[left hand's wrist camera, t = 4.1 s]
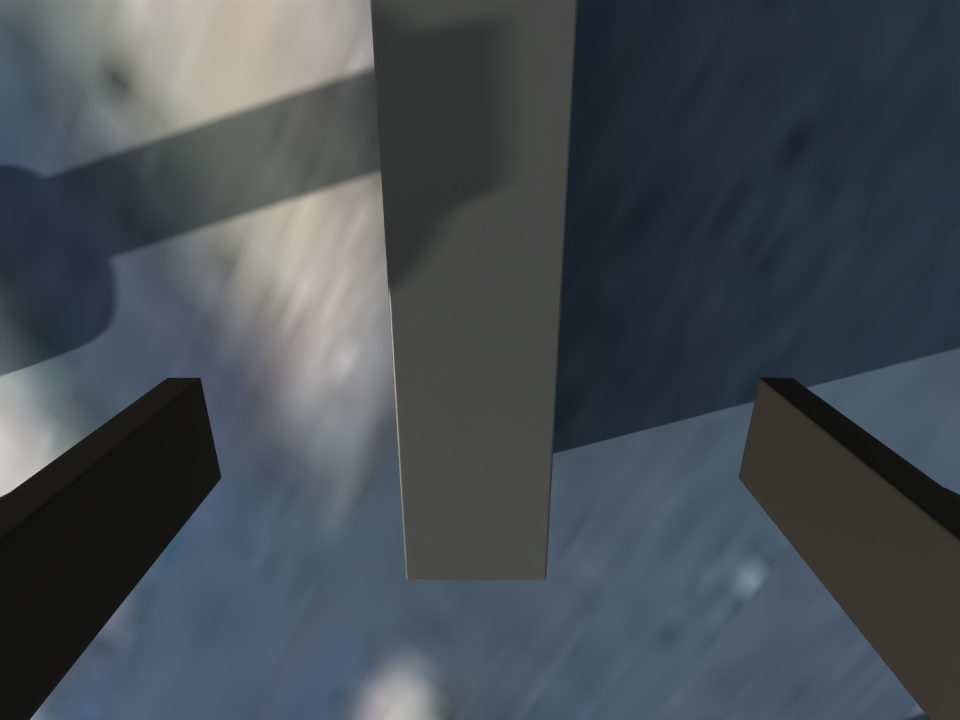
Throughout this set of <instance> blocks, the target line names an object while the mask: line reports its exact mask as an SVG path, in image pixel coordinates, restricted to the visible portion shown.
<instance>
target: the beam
mask: <svg viewBox="0 0 960 720" xmlns="http://www.w3.org/2000/svg"><path fill="white" fill-rule="evenodd" d="M577 10H578V0H371V16H372V32H373V49H374V65H375V81H376V97H377V113H378V129H379V146H380V162H381V178H382V194H383V210H384V226H385V243H386V259H387V275H388V291H389V307H390V324H391V340H392V356H393V372H394V388H395V404H396V421H397V437H398V453H399V469H400V485H401V501H402V518H403V534H404V550H405V566H406V579H407V580H408V581H417V580H545V579H546V570H547V552H548V534H549V516H550V498H551V480H552V462H553V444H554V426H555V408H556V390H557V372H558V353H559V335H560V317H561V299H562V281H563V263H564V245H565V227H566V209H567V191H568V173H569V155H570V137H571V119H572V101H573V83H574V65H575V47H576V28H577Z"/></svg>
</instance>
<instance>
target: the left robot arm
mask: <svg viewBox="0 0 960 720" xmlns="http://www.w3.org/2000/svg"><path fill="white" fill-rule="evenodd" d="M220 479H221V474H220V469H219V464H218V460H217V455H216V450H215V445H214V441H213V436H212V431H211V426H210V422H209V417H208V412H207V407H206V402H205V398H204V393H203V388H202V383H201V379H200V378H167V379H166V380H164V381H163V382H161V383H160V384H159V385H157V386H156V387H155V388H153V389H152V390H150V391H149V392H148V393H146V394H145V395H143V396H142V397H141V398H139V399H138V400H137V401H135V402H134V403H132V404H131V405H130V406H128V407H127V408H126V409H124V410H123V411H121V412H120V413H119V414H117V415H116V416H115V417H113V418H112V419H110V420H109V421H108V422H106V423H105V424H104V425H102V426H101V427H99V428H98V429H97V430H95V431H94V432H93V433H91V434H90V435H88V436H87V437H86V438H84V439H83V440H82V441H80V442H79V443H77V444H76V445H75V446H73V447H72V448H71V449H69V450H68V451H66V452H65V453H64V454H62V455H61V456H59V457H58V458H57V459H55V460H54V461H53V462H51V463H50V464H48V465H47V466H46V467H44V468H43V469H42V470H40V471H39V472H37V473H36V474H35V475H33V476H32V477H31V478H29V479H28V480H26V481H25V482H24V483H22V484H21V485H20V486H18V487H17V488H15V489H14V490H13V491H11V492H10V493H8V494H6V495H4V496H2V497H0V720H30V719H31V717H32V716H33V715H34V714H35V712H36V711H37V710H38V709H39V707H40V706H41V705H42V703H43V702H44V701H45V700H46V698H47V697H48V696H49V695H50V693H51V692H52V691H53V690H54V688H55V687H56V686H57V685H58V683H59V682H60V681H61V679H62V678H63V677H64V676H65V674H66V673H67V672H68V671H69V669H70V668H71V667H72V666H73V664H74V663H75V662H76V661H77V659H78V658H79V657H80V655H81V654H82V653H83V652H84V650H85V649H86V648H87V647H88V645H89V644H90V643H91V642H92V640H93V639H94V638H95V637H96V635H97V634H98V633H99V631H100V630H101V629H102V628H103V626H104V625H105V624H106V623H107V621H108V620H109V619H110V618H111V616H112V615H113V614H114V613H115V611H116V610H117V609H118V608H119V606H120V605H121V604H122V602H123V601H124V600H125V599H126V597H127V596H128V595H129V594H130V592H131V591H132V590H133V589H134V587H135V586H136V585H137V584H138V582H139V581H140V580H141V578H142V577H143V576H144V575H145V573H146V572H147V571H148V570H149V568H150V567H151V566H152V565H153V563H154V562H155V561H156V560H157V558H158V557H159V556H160V554H161V553H162V552H163V551H164V549H165V548H166V547H167V546H168V544H169V543H170V542H171V541H172V539H173V538H174V537H175V536H176V534H177V533H178V532H179V530H180V529H181V528H182V527H183V525H184V524H185V523H186V522H187V520H188V519H189V518H190V517H191V515H192V514H193V513H194V512H195V510H196V509H197V508H198V507H199V505H200V504H201V503H202V501H203V500H204V499H205V498H206V496H207V495H208V494H209V493H210V491H211V490H212V489H213V488H214V486H215V485H216V484H217V483H218V481H219V480H220ZM739 479H740V480H741V481H742V483H743V484H744V485H745V486H746V488H747V489H748V490H749V491H750V493H751V494H752V495H753V496H754V498H755V499H756V500H757V501H758V503H759V504H760V505H761V507H762V508H763V509H764V510H765V512H766V513H767V514H768V515H769V517H770V518H771V519H772V520H773V522H774V523H775V524H776V525H777V527H778V528H779V529H780V530H781V532H782V533H783V534H784V536H785V537H786V538H787V539H788V541H789V542H790V543H791V544H792V546H793V547H794V548H795V549H796V551H797V552H798V553H799V554H800V556H801V557H802V558H803V560H804V561H805V562H806V563H807V565H808V566H809V567H810V568H811V570H812V571H813V572H814V573H815V575H816V576H817V577H818V578H819V580H820V581H821V582H822V584H823V585H824V586H825V587H826V589H827V590H828V591H829V592H830V594H831V595H832V596H833V597H834V599H835V600H836V601H837V602H838V604H839V605H840V606H841V608H842V609H843V610H844V611H845V613H846V614H847V615H848V616H849V618H850V619H851V620H852V621H853V623H854V624H855V625H856V626H857V628H858V629H859V630H860V631H861V633H862V634H863V635H864V637H865V638H866V639H867V640H868V642H869V643H870V644H871V645H872V647H873V648H874V649H875V650H876V652H877V653H878V654H879V655H880V657H881V658H882V659H883V661H884V662H885V663H886V664H887V666H888V667H889V668H890V669H891V671H892V672H893V673H894V674H895V676H896V677H897V678H898V679H899V681H900V682H901V683H902V685H903V686H904V687H905V688H906V690H907V691H908V692H909V693H910V695H911V696H912V697H913V698H914V700H915V701H916V702H917V703H918V705H919V706H920V707H921V709H922V710H923V711H924V712H925V714H926V715H927V716H928V717H929V719H930V720H960V495H959V494H957V493H955V492H953V491H951V490H949V489H947V488H943V487H942V486H940V485H939V484H938V483H936V482H935V481H934V480H932V479H931V478H929V477H928V476H927V475H925V474H924V473H923V472H921V471H920V470H918V469H917V468H916V467H914V466H913V465H912V464H910V463H909V462H907V461H906V460H905V459H903V458H902V457H901V456H899V455H898V454H896V453H895V452H894V451H892V450H891V449H889V448H888V447H887V446H885V445H884V444H883V443H881V442H880V441H878V440H877V439H876V438H874V437H873V436H872V435H870V434H869V433H867V432H866V431H865V430H863V429H862V428H861V427H859V426H858V425H856V424H855V423H854V422H852V421H851V420H850V419H848V418H847V417H845V416H844V415H843V414H841V413H840V412H839V411H837V410H836V409H834V408H833V407H832V406H830V405H829V404H828V403H826V402H825V401H823V400H822V399H821V398H819V397H818V396H817V395H815V394H814V393H812V392H811V391H810V390H808V389H807V388H805V387H804V386H803V385H801V384H800V383H799V382H797V381H796V380H794V379H793V378H760V379H759V383H758V388H757V393H756V398H755V402H754V407H753V412H752V417H751V422H750V426H749V431H748V436H747V441H746V445H745V450H744V455H743V460H742V464H741V469H740V474H739Z"/></svg>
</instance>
